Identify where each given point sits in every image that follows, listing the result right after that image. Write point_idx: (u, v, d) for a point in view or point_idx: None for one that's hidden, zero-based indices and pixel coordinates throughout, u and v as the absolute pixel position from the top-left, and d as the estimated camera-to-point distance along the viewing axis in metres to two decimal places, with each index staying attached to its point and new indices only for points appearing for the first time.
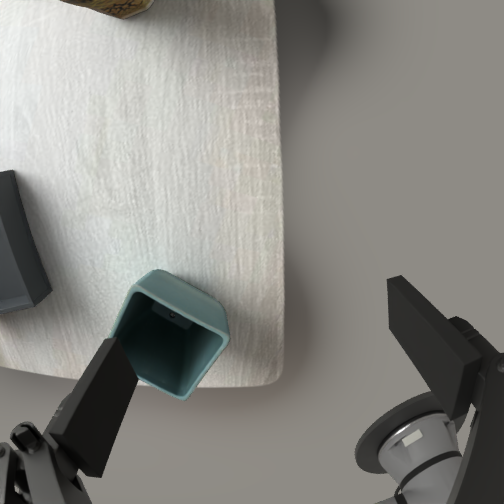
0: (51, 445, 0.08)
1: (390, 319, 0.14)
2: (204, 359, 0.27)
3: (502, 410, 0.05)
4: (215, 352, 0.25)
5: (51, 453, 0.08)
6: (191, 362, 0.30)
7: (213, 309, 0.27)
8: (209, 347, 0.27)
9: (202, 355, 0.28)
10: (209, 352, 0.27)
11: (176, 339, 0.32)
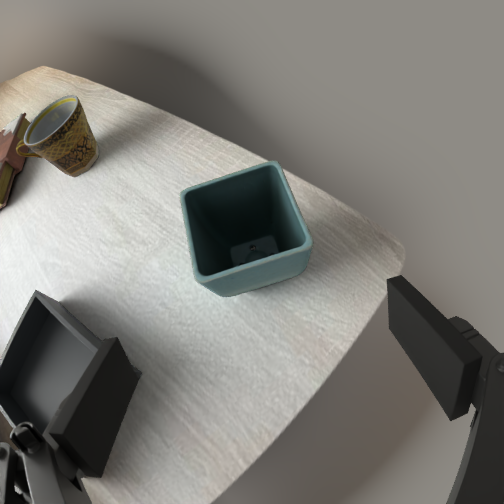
0: (51, 445, 0.08)
1: (390, 319, 0.14)
2: (288, 207, 0.26)
3: (502, 410, 0.05)
4: (281, 179, 0.25)
5: (51, 453, 0.08)
6: None
7: None
8: (285, 204, 0.27)
9: (290, 219, 0.26)
10: (285, 198, 0.26)
11: None
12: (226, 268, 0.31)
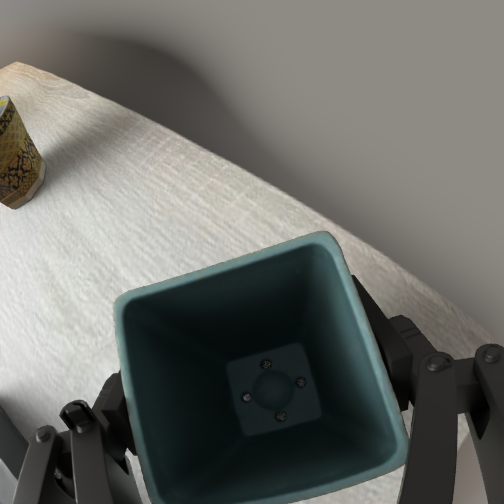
0: (103, 425, 0.09)
1: None
2: (354, 345, 0.11)
3: (437, 408, 0.07)
4: (342, 283, 0.11)
5: (102, 434, 0.09)
6: (362, 421, 0.12)
7: None
8: (343, 328, 0.12)
9: (352, 362, 0.12)
10: (346, 322, 0.11)
11: (315, 435, 0.14)
12: (220, 408, 0.16)
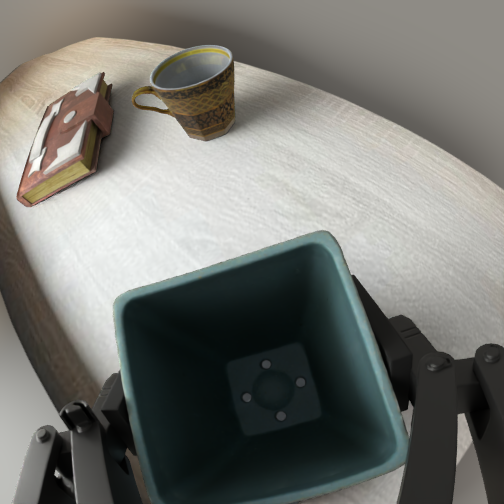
0: (103, 425, 0.09)
1: None
2: (354, 345, 0.11)
3: (437, 408, 0.07)
4: (341, 283, 0.11)
5: (102, 434, 0.09)
6: (362, 421, 0.12)
7: None
8: (343, 328, 0.12)
9: (352, 362, 0.12)
10: (346, 321, 0.11)
11: (315, 435, 0.14)
12: (219, 408, 0.16)
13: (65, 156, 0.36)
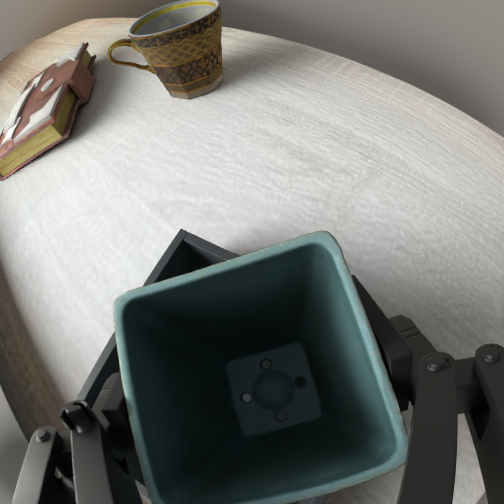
0: (103, 425, 0.09)
1: None
2: (354, 345, 0.11)
3: (437, 408, 0.07)
4: (341, 283, 0.11)
5: (102, 434, 0.09)
6: (362, 421, 0.12)
7: None
8: (343, 328, 0.12)
9: (352, 362, 0.12)
10: (346, 321, 0.11)
11: (315, 435, 0.14)
12: (220, 408, 0.16)
13: (36, 121, 0.30)
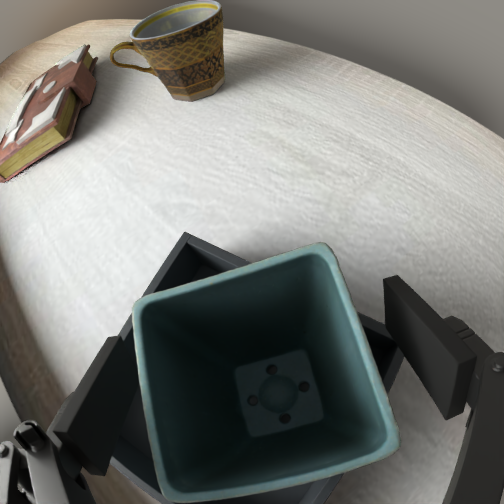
0: (55, 443, 0.08)
1: (387, 319, 0.14)
2: (349, 345, 0.12)
3: (497, 410, 0.06)
4: (337, 288, 0.12)
5: (55, 451, 0.08)
6: (359, 419, 0.13)
7: None
8: (340, 331, 0.13)
9: (348, 362, 0.13)
10: (341, 324, 0.12)
11: (316, 435, 0.15)
12: (227, 409, 0.17)
13: (39, 123, 0.30)
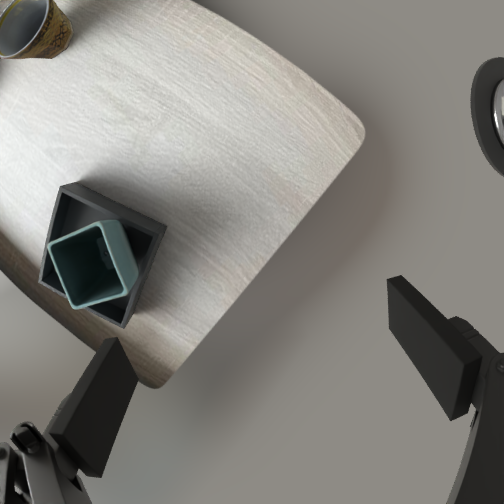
0: (51, 445, 0.08)
1: (390, 319, 0.14)
2: None
3: (502, 410, 0.05)
4: (105, 239, 0.32)
5: (51, 453, 0.08)
6: None
7: None
8: None
9: None
10: None
11: None
12: (95, 260, 0.41)
13: None
